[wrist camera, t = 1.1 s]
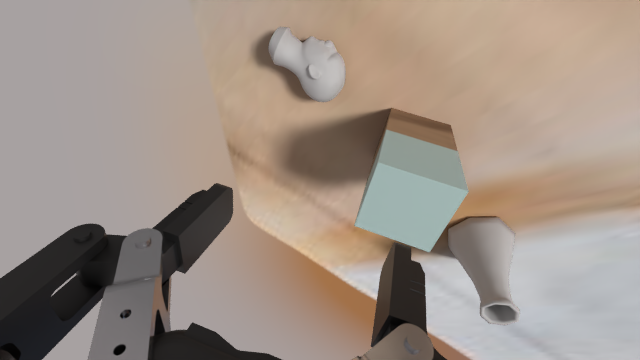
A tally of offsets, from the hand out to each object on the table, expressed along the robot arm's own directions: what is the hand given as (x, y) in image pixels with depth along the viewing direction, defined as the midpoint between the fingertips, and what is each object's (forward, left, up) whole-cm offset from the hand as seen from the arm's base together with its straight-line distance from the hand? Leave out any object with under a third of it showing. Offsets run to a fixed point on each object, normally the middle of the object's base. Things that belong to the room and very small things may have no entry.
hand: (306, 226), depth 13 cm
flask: (+11, +18, -20) cm, 29 cm away
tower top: (+2, +6, -13) cm, 15 cm away
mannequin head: (-3, -6, -20) cm, 21 cm away
